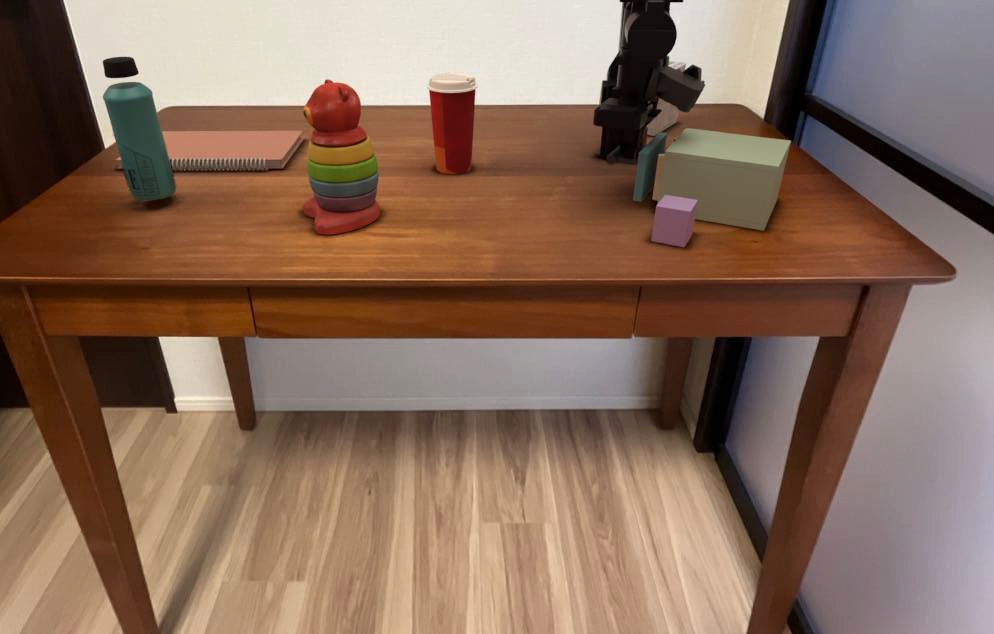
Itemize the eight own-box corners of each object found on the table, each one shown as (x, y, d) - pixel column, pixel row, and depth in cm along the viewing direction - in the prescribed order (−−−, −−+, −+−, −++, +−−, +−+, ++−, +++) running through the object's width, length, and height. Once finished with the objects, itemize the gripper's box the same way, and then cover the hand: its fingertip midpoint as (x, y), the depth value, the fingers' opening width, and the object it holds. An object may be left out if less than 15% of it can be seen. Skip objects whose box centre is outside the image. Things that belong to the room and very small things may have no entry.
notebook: (115, 172, 116) (111, 160, 115) (155, 140, 130) (153, 129, 129) (281, 172, 115) (279, 160, 114) (304, 140, 129) (302, 129, 128)
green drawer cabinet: (656, 212, 98) (665, 150, 94) (677, 185, 107) (686, 127, 102) (763, 231, 93) (778, 166, 88) (776, 201, 101) (791, 140, 97)
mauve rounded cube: (651, 241, 91) (656, 205, 88) (659, 229, 94) (665, 194, 91) (684, 247, 89) (690, 211, 86) (692, 235, 92) (698, 199, 89)
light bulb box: (644, 117, 138) (652, 58, 132) (678, 122, 134) (687, 62, 128) (620, 131, 131) (627, 69, 125) (655, 137, 127) (664, 73, 121)
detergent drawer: (599, 194, 102) (603, 147, 98) (621, 172, 109) (626, 128, 106) (728, 216, 95) (738, 166, 91) (742, 191, 102) (752, 143, 99)
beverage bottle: (189, 197, 106) (155, 53, 95) (159, 213, 101) (120, 64, 90) (153, 192, 108) (116, 51, 97) (122, 208, 103) (79, 61, 92)
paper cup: (485, 164, 116) (485, 74, 109) (465, 179, 111) (464, 85, 103) (442, 158, 119) (439, 70, 112) (420, 172, 113) (416, 80, 106)
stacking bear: (300, 209, 101) (281, 78, 92) (368, 197, 105) (357, 70, 95) (318, 237, 93) (300, 97, 83) (392, 224, 96) (382, 87, 87)
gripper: (688, 66, 84) (669, 192, 93) (719, 39, 98) (700, 151, 106) (597, 58, 89) (587, 179, 97) (639, 33, 102) (627, 142, 111)
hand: (629, 162), depth 103 cm, fingers closed
